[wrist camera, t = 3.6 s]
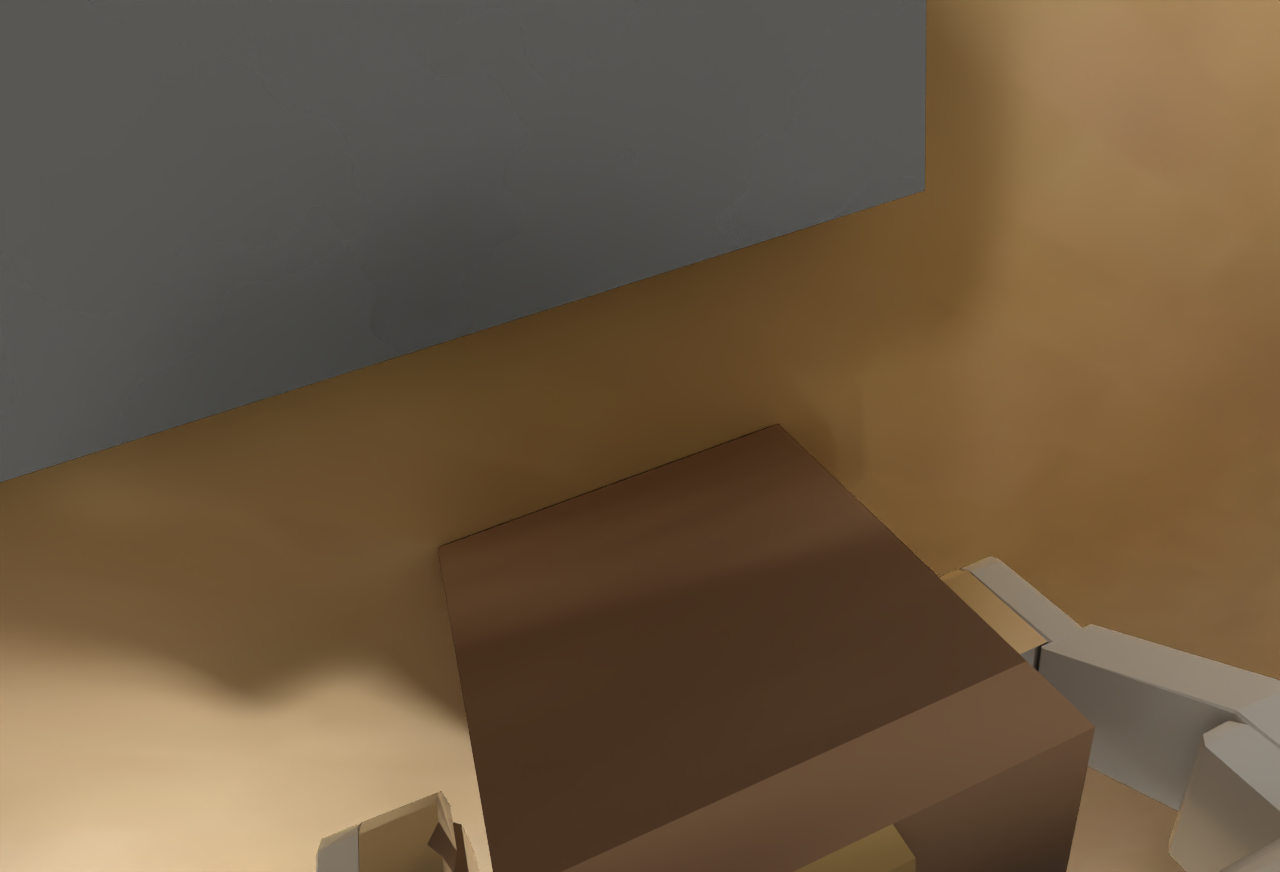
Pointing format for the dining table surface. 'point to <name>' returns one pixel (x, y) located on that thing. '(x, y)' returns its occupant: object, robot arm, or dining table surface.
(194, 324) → the plate
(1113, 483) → the dining table surface
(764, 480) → the taped cardboard carton
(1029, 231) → the dining table surface
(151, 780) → the dining table surface
